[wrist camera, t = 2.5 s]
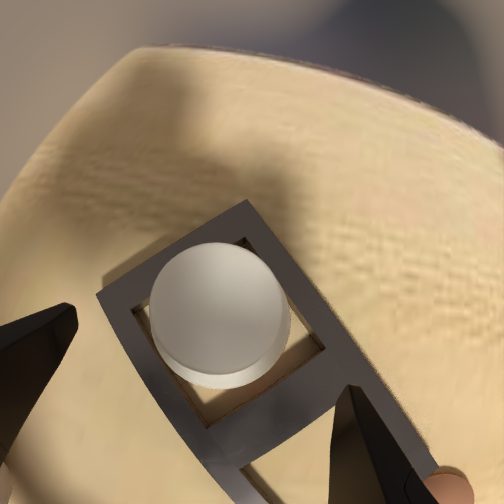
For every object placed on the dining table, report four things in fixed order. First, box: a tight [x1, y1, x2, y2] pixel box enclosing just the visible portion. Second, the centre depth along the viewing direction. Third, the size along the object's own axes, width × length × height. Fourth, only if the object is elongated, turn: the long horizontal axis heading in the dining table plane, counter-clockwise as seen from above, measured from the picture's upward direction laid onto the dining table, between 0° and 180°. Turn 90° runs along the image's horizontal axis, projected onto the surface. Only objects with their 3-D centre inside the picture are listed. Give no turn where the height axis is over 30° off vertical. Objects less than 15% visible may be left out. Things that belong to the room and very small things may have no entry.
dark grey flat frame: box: [96, 199, 439, 504], centre depth 16 cm, size 11×22×1 cm, turn 35°
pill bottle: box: [149, 242, 291, 389], centre depth 14 cm, size 5×5×10 cm
